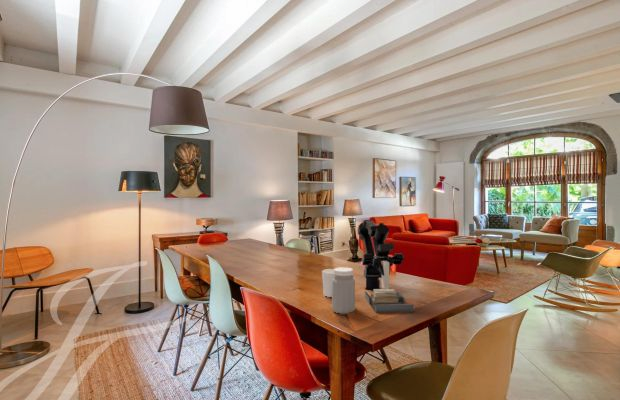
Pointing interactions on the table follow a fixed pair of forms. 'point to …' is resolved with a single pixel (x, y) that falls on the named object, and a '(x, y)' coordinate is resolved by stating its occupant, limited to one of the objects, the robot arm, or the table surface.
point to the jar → (343, 290)
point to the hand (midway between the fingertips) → (386, 275)
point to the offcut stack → (384, 295)
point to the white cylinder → (327, 281)
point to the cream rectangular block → (385, 275)
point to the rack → (390, 305)
